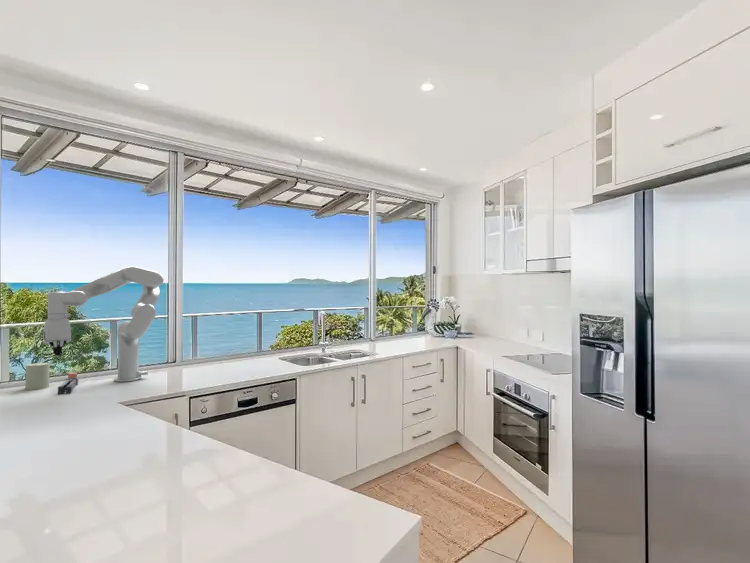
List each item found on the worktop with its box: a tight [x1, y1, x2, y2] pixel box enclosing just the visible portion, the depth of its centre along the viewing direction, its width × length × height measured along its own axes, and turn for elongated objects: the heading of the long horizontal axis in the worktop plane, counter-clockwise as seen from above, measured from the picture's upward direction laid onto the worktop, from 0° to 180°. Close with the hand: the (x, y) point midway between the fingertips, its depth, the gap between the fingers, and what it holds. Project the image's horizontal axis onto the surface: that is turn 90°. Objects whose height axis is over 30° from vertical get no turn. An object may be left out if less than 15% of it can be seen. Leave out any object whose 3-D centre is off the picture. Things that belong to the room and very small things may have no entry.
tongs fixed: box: [65, 376, 79, 394], centre depth 197 cm, size 23×5×3 cm, turn 30°
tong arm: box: [57, 380, 71, 395], centre depth 194 cm, size 18×2×3 cm, turn 27°
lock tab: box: [67, 372, 78, 378], centre depth 206 cm, size 2×3×2 cm
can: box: [24, 362, 51, 391], centre depth 200 cm, size 9×9×12 cm
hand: (57, 354), depth 196 cm, fingers closed
